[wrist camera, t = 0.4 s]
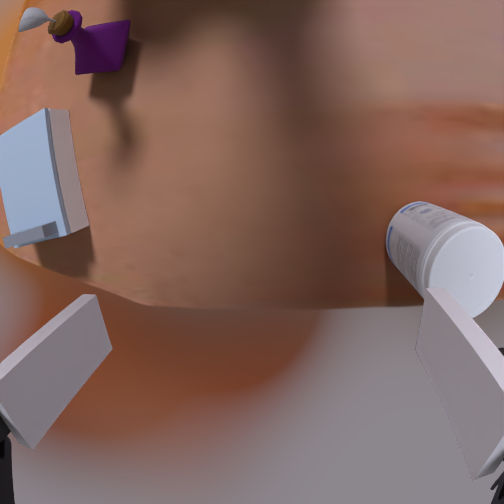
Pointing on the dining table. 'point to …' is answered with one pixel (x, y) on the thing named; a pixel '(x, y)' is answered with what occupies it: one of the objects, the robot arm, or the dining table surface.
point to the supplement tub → (447, 254)
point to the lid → (31, 183)
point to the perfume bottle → (84, 39)
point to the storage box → (67, 169)
